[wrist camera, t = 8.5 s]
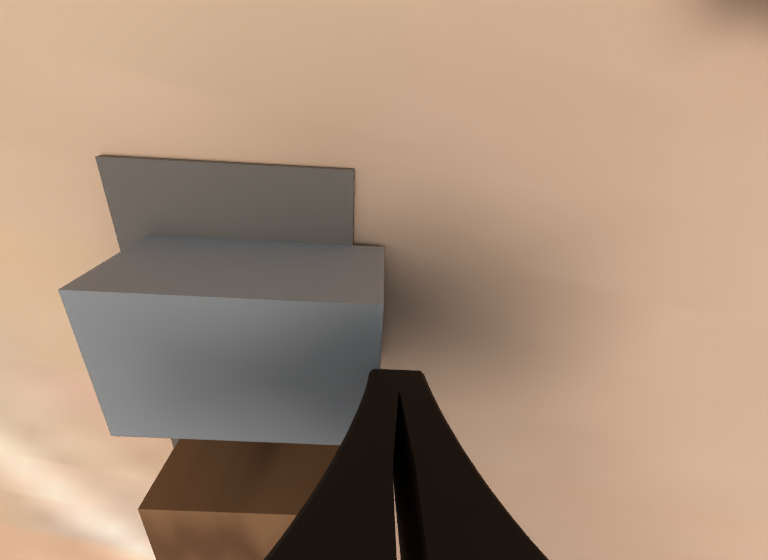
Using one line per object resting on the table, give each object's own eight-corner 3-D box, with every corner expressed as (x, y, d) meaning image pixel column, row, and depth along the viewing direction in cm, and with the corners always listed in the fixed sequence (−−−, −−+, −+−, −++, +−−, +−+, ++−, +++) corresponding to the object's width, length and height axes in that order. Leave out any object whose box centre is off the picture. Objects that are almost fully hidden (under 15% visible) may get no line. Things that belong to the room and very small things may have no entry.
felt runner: (348, 518, 20) (347, 524, 20) (195, 512, 20) (192, 518, 20) (354, 168, 12) (353, 170, 12) (101, 155, 12) (95, 156, 12)
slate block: (375, 446, 12) (111, 435, 12) (377, 363, 15) (175, 354, 15) (384, 305, 10) (58, 289, 9) (384, 246, 13) (148, 235, 13)
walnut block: (366, 595, 16) (166, 588, 15) (370, 500, 19) (208, 494, 19) (371, 517, 13) (138, 509, 13) (374, 427, 17) (190, 419, 17)
